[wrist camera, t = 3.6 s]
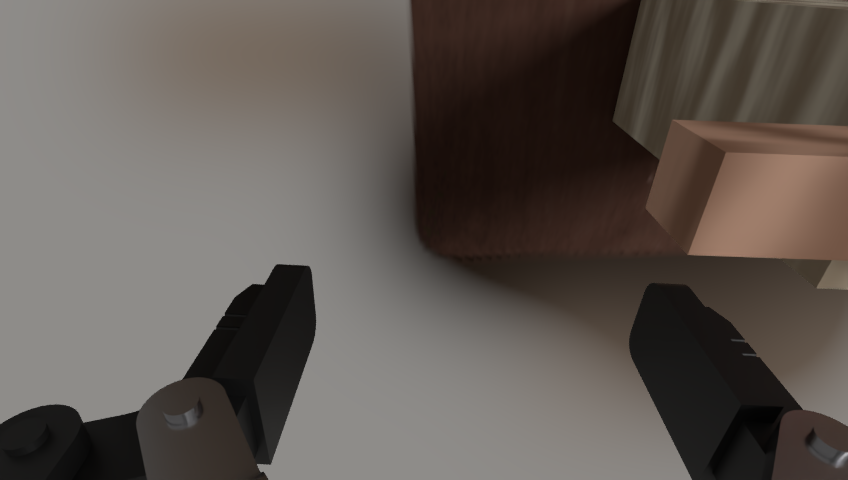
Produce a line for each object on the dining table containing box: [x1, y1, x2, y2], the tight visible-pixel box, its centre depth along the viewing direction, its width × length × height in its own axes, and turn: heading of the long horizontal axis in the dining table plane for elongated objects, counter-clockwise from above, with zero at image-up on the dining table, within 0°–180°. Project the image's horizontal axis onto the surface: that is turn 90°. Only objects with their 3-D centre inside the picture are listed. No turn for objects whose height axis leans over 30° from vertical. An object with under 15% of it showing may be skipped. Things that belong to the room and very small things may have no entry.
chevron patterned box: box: [613, 0, 848, 289], centre depth 32 cm, size 16×12×32 cm
